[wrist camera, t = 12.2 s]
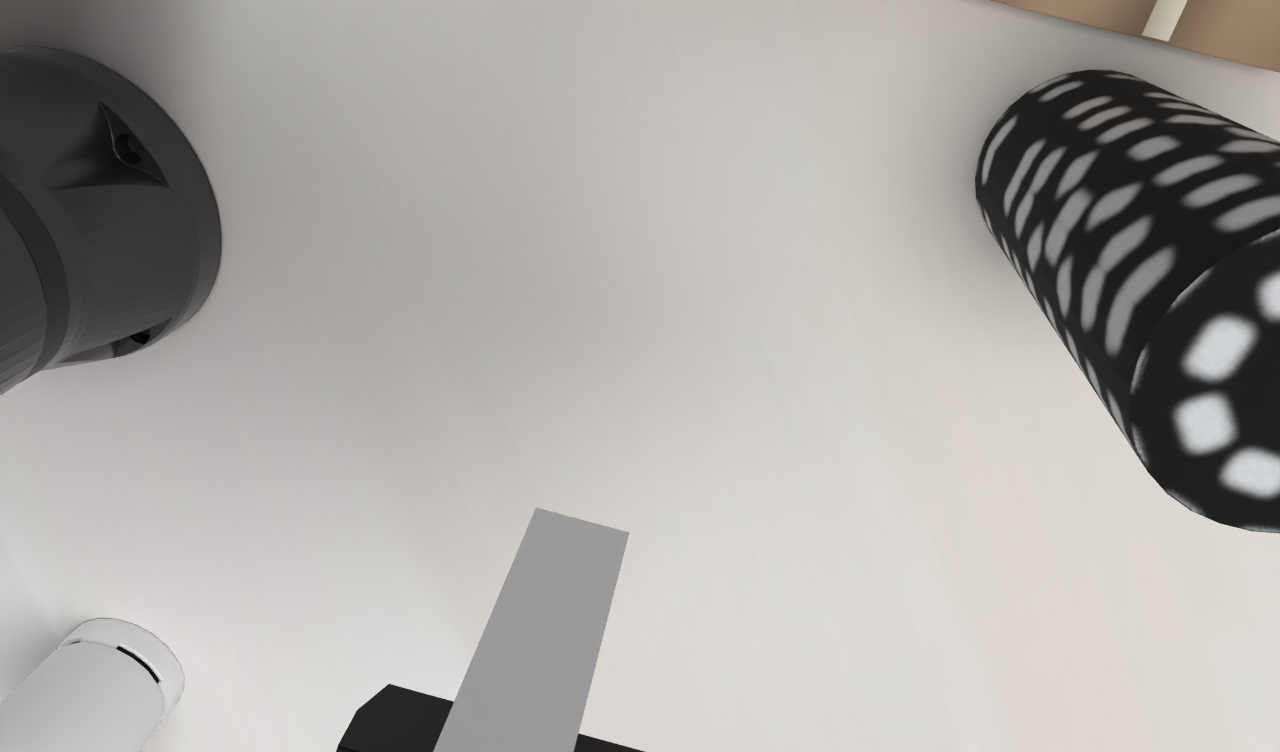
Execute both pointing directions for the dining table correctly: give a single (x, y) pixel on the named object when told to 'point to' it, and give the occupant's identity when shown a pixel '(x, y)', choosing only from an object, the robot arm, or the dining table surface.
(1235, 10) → the board
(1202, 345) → the spotted tube
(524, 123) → the dining table surface
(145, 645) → the bottle
